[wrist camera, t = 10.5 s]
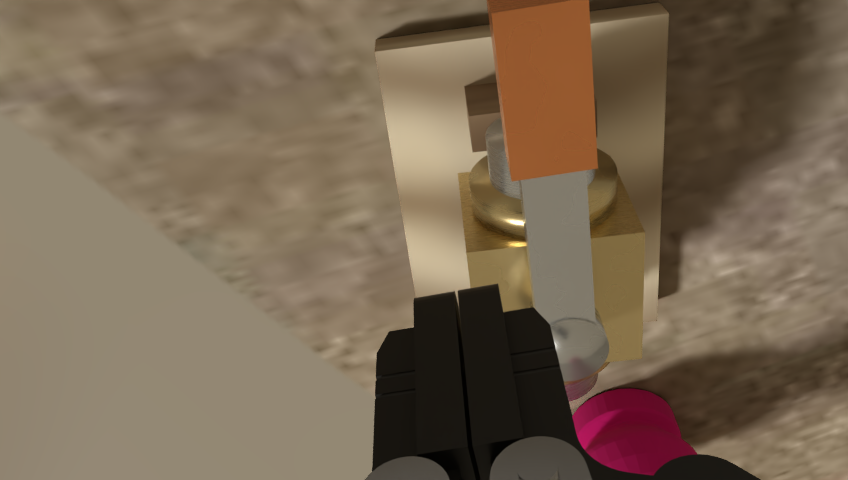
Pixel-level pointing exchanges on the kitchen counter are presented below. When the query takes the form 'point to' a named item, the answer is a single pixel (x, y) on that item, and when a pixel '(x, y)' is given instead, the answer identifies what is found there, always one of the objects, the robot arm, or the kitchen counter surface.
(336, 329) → the kitchen counter surface
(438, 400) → the robot arm
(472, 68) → the board
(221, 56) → the kitchen counter surface
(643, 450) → the pepper mill
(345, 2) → the kitchen counter surface
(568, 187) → the lever
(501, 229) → the ball valve
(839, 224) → the kitchen counter surface
